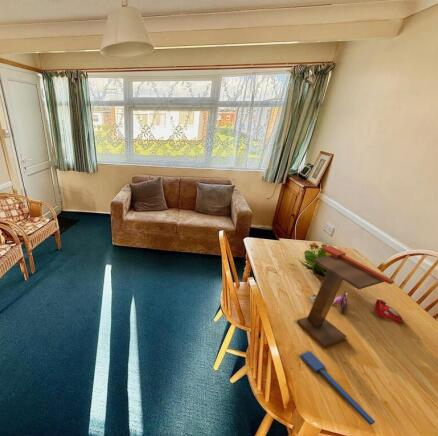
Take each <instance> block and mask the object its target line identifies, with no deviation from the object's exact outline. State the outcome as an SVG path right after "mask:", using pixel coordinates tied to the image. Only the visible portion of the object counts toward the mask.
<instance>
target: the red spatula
mask: <svg viewBox="0 0 438 436" xmlns="http://www.w3.org/2000/svg"><path fill="white" fill-rule="evenodd" d="M321 248H322V247H321ZM338 249H339V248H336V247H335V246H332V245H327V246H326V247H323V248H322V250H323V251H325V252H327V253H329V254H331V255H332V256H334V257H336V258H338V257H340V258H342V259H343V260H345V261H347V262H349V263H351V264H353V265H355V266H357V267H358V268H360V269H362V270H364V271H366V272H368V273H370V274H371V275H373V276H375V277H377V278H379V279H381V280H383V281H384V282H383V283H386V284H389V285H393V284H394V283H395V280H393V279H391V278H390V277H387V276H386V275H384V274H382V273H380V272H377V271H376V270H374V269H372V268H370V267H368V266H366V265H365V264H362V263H361V262H359V261H357V260H356V259H355V260H354V259H353V258H351V257H350V256H347V254H346V252H345V251H342V250H341V249H339V250H338ZM340 250H341V251H340Z"/></svg>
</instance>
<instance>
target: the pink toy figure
mask: <svg viewBox="0 0 438 436" xmlns="http://www.w3.org/2000/svg"><path fill="white" fill-rule="evenodd" d="M348 295H349V293H348V292H347V291H346V290H344V292H343V294H342V296H336V297H335V299H334V301H333V303H332V305H338V306H340V310H341V314H342V315H343V314H344V312H345V310H346V307H347V305H348Z"/></svg>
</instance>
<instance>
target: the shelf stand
mask: <svg viewBox="0 0 438 436" xmlns="http://www.w3.org/2000/svg"><path fill="white" fill-rule="evenodd" d="M313 262H314V263H316V264H318V265H319V266H321V267H323V268H324V269H326V270H327V272H326V275H325V277H324V279H322V282H321V285H320V287H319V290H318V292H317V293H316V295H317V296H316V299H315V301H314V303H313V304H312V305H311V307H310V308H311V309H310V312H308V316H306V317H303V318H299V319H297V320H296V323H297V324H298V325H299V326H300V327H301V328H302V329H303V330H304V331H305V332H307V333H308V335H309V336H310V337H312V338H313V339H314V340H315V341H316V342H317V343H318V344H319V345H320V346H321V347H323V348H324V347H325V348H326V347H327V346H330V345H333V344H335V343H338V342H341V341H343V340H346V339H347V337H348V336H347V335H346V334H345V333H343V332H342V331H341V330H339V328H337V327H336V326H335V325H333V324H332V322H330V321H329V320H328V319H327V316H328V314H329V312H330V310H331V307H332V305H333V304H332V303H334V300H335V299H336V298H337V295H338V292H339V291H340V288H341V285H342V284H343V282H346V283H347V284H349V285H350V286H351V287H353V288H355V289H357V290H362V289H365V288H366V289H367V288H369V287H372V286H375V285H379V284H382V283H385V282H384V281H383V280H381V279H379V278H377V277H375V276H373V275H371V274H370V273H368V272H366V271H364V270H362V269H360V268H358V267H357V266H355V265H353V264H351V263H349V262H347V261H345V260H343V259H342V258H340V257H338V258H336V257H334V256H332V255H330V256H326V257H321V258H317V259H313Z"/></svg>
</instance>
